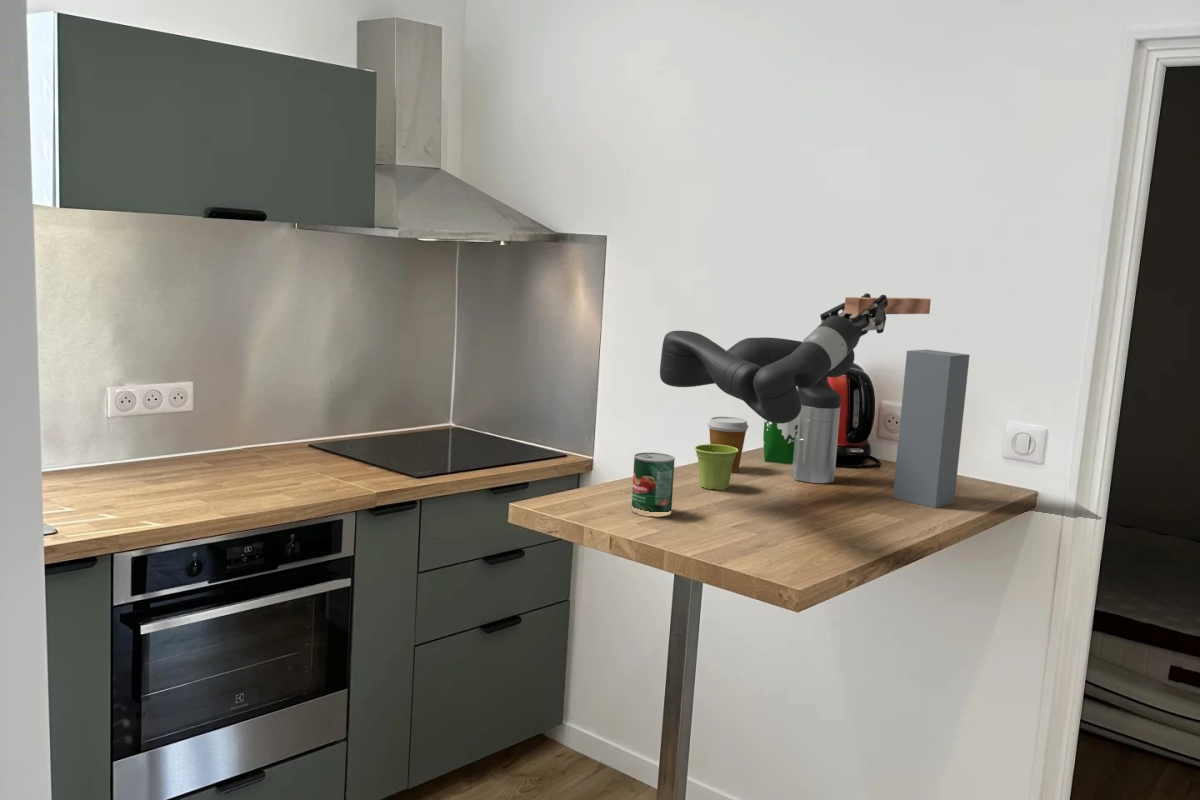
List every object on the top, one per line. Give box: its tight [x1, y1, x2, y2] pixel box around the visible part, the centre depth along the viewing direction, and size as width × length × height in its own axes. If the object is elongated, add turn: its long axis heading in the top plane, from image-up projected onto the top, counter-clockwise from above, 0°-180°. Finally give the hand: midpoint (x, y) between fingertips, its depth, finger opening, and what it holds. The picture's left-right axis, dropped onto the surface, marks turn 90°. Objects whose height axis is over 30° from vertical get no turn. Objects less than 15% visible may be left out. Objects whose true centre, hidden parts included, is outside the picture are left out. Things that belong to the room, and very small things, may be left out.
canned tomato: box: [631, 451, 676, 512], centre depth 201 cm, size 8×8×11 cm
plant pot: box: [694, 443, 738, 491], centre depth 224 cm, size 9×9×9 cm
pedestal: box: [892, 349, 971, 509], centre depth 220 cm, size 8×10×32 cm
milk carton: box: [762, 389, 798, 465], centre depth 257 cm, size 9×9×20 cm
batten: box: [844, 296, 932, 315], centre depth 202 cm, size 26×3×3 cm, turn 133°
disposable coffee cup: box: [707, 416, 749, 474], centre depth 243 cm, size 10×10×12 cm
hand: (876, 298), depth 199 cm, fingers closed on batten, 3 cm apart
